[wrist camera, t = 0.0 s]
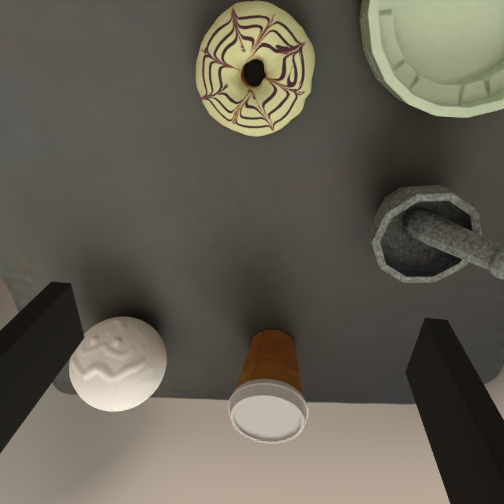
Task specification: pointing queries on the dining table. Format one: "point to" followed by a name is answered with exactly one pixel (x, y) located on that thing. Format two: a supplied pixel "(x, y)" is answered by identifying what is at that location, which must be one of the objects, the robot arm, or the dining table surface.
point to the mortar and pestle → (430, 235)
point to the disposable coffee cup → (269, 391)
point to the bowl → (437, 53)
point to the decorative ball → (118, 364)
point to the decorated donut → (249, 48)
